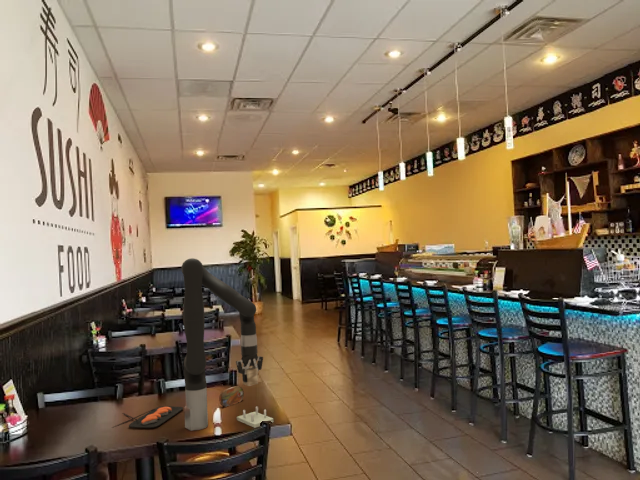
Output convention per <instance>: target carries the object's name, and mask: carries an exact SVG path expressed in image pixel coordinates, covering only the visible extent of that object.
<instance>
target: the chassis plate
mask: <svg viewBox="0 0 640 480" xmlns="http://www.w3.org/2000/svg"><path fill="white" fill-rule="evenodd" d="M236 421H238V422H240V423H243V424H245V425H247V426H250V427H252V428H255V429H256V428H258V427H259V428H260V427H261V426H260V423H261V422H262V421H271V422H272V423H274V418H273V417H270V416H268V415H267V409H263V414H262V413H260V412H259V406H255V411H253V412H252V411H251V412H249V413H246V409H243V410H242V415H239V416H236Z"/></svg>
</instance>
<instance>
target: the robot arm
mask: <svg viewBox="0 0 640 480" xmlns="http://www.w3.org/2000/svg"><path fill="white" fill-rule="evenodd" d="M181 272H182V276H183V284H184V297H183V306H182V308H183V310H182V320H183V322H182V323H183V330H184V335H185V340H186V355H185V357H184V360H183V372H184V373H183V374H184V385H185V386H184V387H185V389H184V390H185V406H184V407H183V409H184V428H185V429H187V430H188V431H199V430H203V429H205V428H207V427H208V426H209V417H208V415H209V414H208V412H209V411H208V394H207V393H208V389H207V377H206V367H207V358H206V353H205V344H204V343H205V341H204V340H205V339H204V338H205V305H204V304H205V303H204V295H203V287H205V288H206V289H208V291H211V292H212V294H214V295H215V296H216V297H217V298H218V299H220V300H222V301H223V302H224V303H225V304H227V305H229V306H231V307H232V308H233V309H235V310H236V311H237V312H238V314H239V321H240V351H241V353H240V354H241V359H240V360H236V361H235V365H236V369H237V371H238V372H237V373H238V374H241V375H242V376H241V377H242V382H243V381H244V382H245V383H246V382H247V370H248V369H249V368H250V367H252V368H257V369H258V372H260V370H262V368H263V362H264V357H263V356H259V355H258V337H257V325H256V322H255V314H256V313H257V307H256V305H255V303H254V302H252V301H250V299H247V298H246V297H245V296H243V295H242V294H241V293H240V292H238V291H237V290H236V289H234V287H232V286H230V285H229V284H227V283H226V282H224V281H222V280H221V279H220V278H217V277H216V276H214V275H213V274H212V273H210V272H209V271H208V270H207V269H206V268H205V267H204V265H203V263H202V262H201V261H200V260H199V259H197V258H193V257H192V258H188V259H186V260H185V261H183V262H182V265H181Z"/></svg>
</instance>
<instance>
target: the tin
mask: <svg viewBox="0 0 640 480" xmlns="http://www.w3.org/2000/svg"><path fill="white" fill-rule="evenodd" d="M244 393H245V392H244V389H243V387H242V386H240V385H239V386H238V385H236V386H232V387H229V388H225V389H223V390H222V391H221V392H220V394H219V396H218V397H219V400H218V401H219V404H220V405H221V406H222V407H225V408H228V407H227V406H229V407H231V406H233V405H232V404H234V405H236V404H235V403H237V404H239V403H241V402H242V401H243V400H244V396H245V394H244ZM238 402H239V403H238ZM230 405H231V406H230Z"/></svg>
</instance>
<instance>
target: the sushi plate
mask: <svg viewBox="0 0 640 480" xmlns="http://www.w3.org/2000/svg"><path fill="white" fill-rule="evenodd" d="M183 409H184V407H183V406H168V405H167V406H164V405H163V406H158V407H156V408H152V409H150V410H148V411H146V412H143V413H141V414H139V415H137V416H135V417H133V416H131V415H128V414H126V413H124V412H123V413H122V414H123V415H124V416H126V417H128V418H130V419H127V420H126V421H123V422H122V423H119V424H117V425H116V424H115V426H112V427H111V428H112V429H113V428H116V427H118V426H121V425H124V424H126V423H128V422H130V421H132V422H131V423H129V424H128V428H139V429H152V428H157V427H159V426H161V425H162V424H163V423H165V422H167V421H168V420H170V419H171V418H172V417H174V416H176V415H177V414H178V413H180V412H181V411H183ZM133 420H134V421H133Z"/></svg>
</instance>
